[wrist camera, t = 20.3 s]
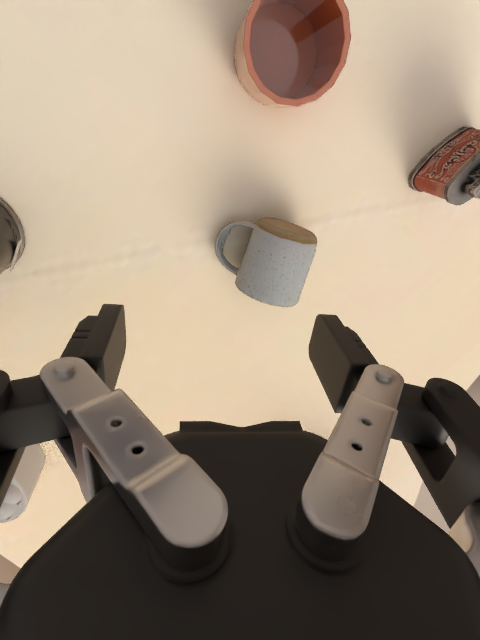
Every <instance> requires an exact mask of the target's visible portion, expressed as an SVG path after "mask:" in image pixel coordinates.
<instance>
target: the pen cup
mask: <svg viewBox="0 0 480 640" xmlns="http://www.w3.org/2000/svg"><path fill="white" fill-rule="evenodd" d="M350 39H351V34H350V23H349V12H348V9H347V7H346V5H345V3H344V0H253V2H252V3H251V5H250V7H249V9H248V11H247V13H246V15H245V16H244V19H243V21H242V23H241V26H240V28H239V30H238V33H237V35H236V41H235V48H234V61H235V67H236V71H237V75H238V77H239V80H240V82H241V84H242V86H243V87H244V89H245V90H246V91H247V93H248V94H249V95H250V96H251V97H252V98H254V99H255V100H256V101H258V102H260V103H262V104H263V105H269V106H276V107H295V106H300V105H303V104H306V103H309V102H312V101H315V100H317V99H318V98H319V97H321V96H322V95H323V94H324V93H325V92H326V91H327V90H328V89H330V88H331V87H332V86H333V85H334V83H335V81H336V79H337V78H338V76H339V74H340V72H341V71H342V69H343V67H344V65H345V63H346V58H347V53H348V49H349V44H350Z"/></svg>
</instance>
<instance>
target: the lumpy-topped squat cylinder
mask: <svg viewBox="0 0 480 640" xmlns="http://www.w3.org/2000/svg"><path fill="white" fill-rule="evenodd" d="M44 463H45V454H44V452H43V450H42V448H41V446H40V445H39V443H38V444H34V445H30V446H26V448H25V450H24V453H23V455H22V458H21V460H20V462H19V465H18V467H17V469H16V472H15V474H14V477H13V479H12V481H11V484H10V486H9V489H8V491H7V493H6V496H5V498H4V501H3V503H2V505H1V508H0V523H4V522H9V521H12V520H14V519H16V518H17V517H19V516H20V515H21V514H22V513H23V512H24V511H25V509H26V507H27V504H28V502H29V500H30V497H31V495H32V492H33V490H34V488H35V485H36V483H37V481H38V478H39V476H40V474H41V471H42V469H43V466H44Z"/></svg>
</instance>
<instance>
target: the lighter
mask: <svg viewBox="0 0 480 640" xmlns="http://www.w3.org/2000/svg"><path fill="white" fill-rule="evenodd" d="M408 184H409V186H410V187H411V188H412V189H413V190H416V191H418V192H423V191H424V192H426V193H429V194H432V195H435V196H438V197H440V198H443V199H445V200H446V201H447V202H449V203H451V204H454V205H461V204H463V203H465V202H467V201H468V200H470V199H471V198H473V197H474V198H478V199H480V130H477V129H475V128H473V127H462V128H459V129H458V130H456V131H455V132H453V133H452V134H450V135H449V136H447V137H446V138H445V139H444V140H442V141H441V142H440V143H439V144H437V145H436V146H435V147H434V148H433V149H432V150H431V151H430V152H429V153H428V154H427V155H426V156H425V157H424V158H423V159H422V160H421V161H420V162H419V163H418V164H417V166H416V167H415V168H414V169H413V170H412V172H411V173H410V175H409V178H408Z"/></svg>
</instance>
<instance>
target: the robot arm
mask: <svg viewBox="0 0 480 640" xmlns="http://www.w3.org/2000/svg"><path fill="white" fill-rule="evenodd" d="M24 246H25V236H24V231H23V228H22V225H21V223H20V221H19V219H18V217H17V216H16V214H15V213H14V211H13V210H12V209H11V208H10V207H9V206H8V205H7V204H6V203H5V202H4V201H3V200H2V199H0V274H1V273H2V272H3V271H4V270H6V269H8V268H9V267H11V268H10V271H11V270H12V269H13V268H14V265H15V262H16V261H17V260H18V259H19V258H20V256H21V255H22V253H23V250H24ZM10 271H9V272H10ZM125 349H126V329H125V312H124V306H123V305H116V304H103V306H102V308H101V310H100V312H99V314H98V316H87V317H86V318H85V319H83V320H82V321H80V322H79V324H78V326H77V328H76V329H75V332H74V333H73V335H72V338H71V339H70V341H69V342H68V344H67V346H66V348H65V350H64V352H63V353H62V355H61V357H60V358H59V359H56V360H53V361H51V362H49V363H47V364H46V365H45V366H44V367H43V368H42V369H41V371H40V375H37V376H33V377H29V378H23V379H18V380H12V381H10V378H9V375H8V374H7V373H6V372H4V371H2V370H0V508H1V505H2V503H3V501H4V498H5V496H6V493H7V491H8V489H9V486H10V484H11V481H12V479H13V477H14V474H15V472H16V469H17V467H18V465H19V462H20V460H21V458H22V455H23V453H24V450H25V448H26V446H30V445H34V444H38V443H42V442H46V441H50V440H54V441H55V443H56V444H57V446H58V448H59V449H60V451H61V453H62V454H63V456H64V458H65V459H66V461H67V463H68V464H69V466H70V468H71V469H72V471H73V473H74V474H75V476H76V478H77V480H78V482H79V485H80V488H81V491H82V493H83V496H84V498H85V500H86V502H87V504H86V505H85V506H84V507H83V508H81V509H80V510H79V511H78V512H77V513H76V514H75V515H74V516H73V517H72V518H71V519H70V520H69V521H68V522H67V523H66V524H65V525H64V526H63V527H62V528H61V529H60V530H58V531H57V532H56V533H55V534H54V535H53V536H52V537H51V538H50V539H49V540H48V541H47V542H46V543H45V544H44V545H43V546H42V547H41V548H40V549H39V550H38V551H37V552H35V553H34V554H33V555H32V556H31V557H30V559H29V560H28V561H27V562H26V563H25V564H24V565H23V567H22V568H21V569H20V571H19V572H18V573H17V575H16V577H15V578H14V579H13V581H12V583H11V584H4V583H0V640H480V407H479V406H478V405H477V403H476V402H475V401H474V400H473V399H472V398H471V397H470V396H469V395H468V393H467V392H466V391H465V390H464V389H463V388H462V387H460V386H459V385H457V384H455V383H453V382H451V381H449V380H446V379H442V378H432V379H429V380H428V382H427V384H426V386H425V388H423V387H419V386H415V385H410V384H406V383H404V379H403V377H402V376H401V375H400V374H399V373H398V372H397V371H395V370H393V369H392V368H389V367H387V366H384V365H379V364H378V362H377V361H376V359H375V358H374V357H373V355H372V354H371V353H370V351H369V350H368V348H366V346H365V344H364V343H363V342H362V340H361V339H360V337H359V336H358V335H357V333H355V332H354V331H353V330H351V329H350V328H349V327H344V325H343V324H342V322H341V321H340V319H339V318H338V317H337V316H336V315H325V314H319V315H318V316H317V317H316V320H315V324H314V328H313V332H312V336H311V340H310V343H309V357H310V360H311V362H312V364H313V366H314V368H315V371H316V373H317V375H318V377H319V379H320V381H321V384H322V386H323V388H324V390H325V392H326V394H327V396H328V399H329V401H330V403H331V405H332V407H333V409H334V412H335V413H341V415H340V417H339V419H338V421H337V423H336V425H335V427H334V429H333V431H332V433H331V435H330V437H329V439H328V440H326V439H324V438H322V437H320V436H318V435H316V434H313V433H310V432H307V431H303V430H302V427H301V424H300V421H270V422H266V423H261V424H257V425H252V426H248V427H236V426H231V425H226V424H221V423H216V422H211V421H180V431H177V432H173V433H170V434H167V435H165V436H163V435H162V433H161V432H160V431H159V430H158V429H157V428H156V427H155V426H154V424H153V423H152V422H151V421H150V420H149V419H148V418H147V417H146V416H145V414H144V413H143V412H142V411H141V410H140V409H139V408H138V407H137V406H136V404H135V403H134V402H133V401H132V400H131V399H130V398H129V397H128V396H127V394H126V393H125V392H124V391H123V390H121V389H116V390H114V389H115V386H116V382H117V379H118V375H119V372H120V368H121V365H122V361H123V358H124V354H125ZM448 436H450V438H451V439H452V441H453V442H454V444H455V446H456V453H457V454H456V457H455V455H454V454H453V452H452V451H451V449H450V448H449V447H448V445H447V444H446V440H447V438H448ZM390 438H392V439H396V440H400V441H402V443H403V445H404V447H405V449H406V450H407V452H408V454H409V456H410V458H411V459H412V461H413V463H414V465H415V467H416V469H417V470H418V472H419V474H420V476H421V478H422V479H423V481H424V483H425V485H426V487H427V488H428V490H429V492H430V494H431V496H432V497H433V499H434V501H435V503H436V505H437V506H438V508H439V510H440V512H441V513H442V515H443V517H444V519H445V521H446V522H447V524H448V526H449V528H450V531H449V535H448V534H447V533H446V532H445V531H443V530H442V529H441V528H440V527H438V526H437V525H436V524H435V523H433V522H432V521H431V520H429V519H428V518H427V517H426V516H424V515H423V514H422V513H420V512H419V511H418V510H417V509H415V508H414V507H413V506H411V505H410V504H409V503H408V502H406V501H405V500H404V499H403V498H401V497H400V496H399V495H397V494H396V493H395V492H394V491H392V490H391V489H390V488H389V487H387V486H386V485H385V484H383V483H382V482H381V481H380V480H379V477H380V474H381V470H382V467H383V463H384V460H385V456H386V452H387V449H388V445H389V442H390Z"/></svg>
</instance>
